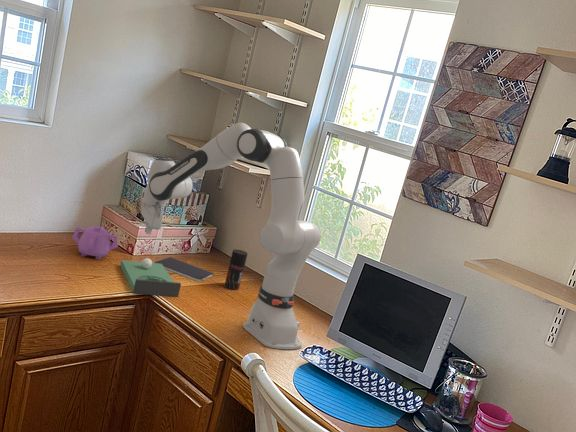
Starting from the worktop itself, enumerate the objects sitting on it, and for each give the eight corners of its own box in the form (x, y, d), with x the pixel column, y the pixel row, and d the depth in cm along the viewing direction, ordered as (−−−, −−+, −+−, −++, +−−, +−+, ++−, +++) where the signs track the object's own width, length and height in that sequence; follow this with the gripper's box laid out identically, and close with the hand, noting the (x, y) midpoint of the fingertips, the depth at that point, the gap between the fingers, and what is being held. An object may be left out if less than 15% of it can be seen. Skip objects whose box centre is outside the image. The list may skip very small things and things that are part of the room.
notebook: (213, 276, 247) (169, 260, 253) (213, 273, 246) (170, 257, 253) (198, 283, 235) (152, 265, 241) (199, 279, 234) (153, 262, 241)
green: (178, 296, 214) (181, 283, 213) (133, 293, 206) (136, 280, 205) (160, 269, 237) (163, 257, 236) (120, 265, 230) (122, 253, 229)
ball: (152, 270, 226) (154, 260, 225) (141, 269, 224) (143, 259, 223) (149, 266, 230) (151, 257, 229) (139, 265, 228) (141, 256, 227)
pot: (75, 244, 242) (80, 216, 239) (118, 253, 244) (124, 226, 242) (64, 256, 224) (69, 227, 222) (110, 266, 227) (116, 237, 225)
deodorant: (236, 291, 235) (245, 255, 232) (222, 287, 236) (231, 251, 233) (240, 287, 240) (249, 252, 238) (226, 283, 241) (235, 248, 238)
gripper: (169, 207, 221) (161, 242, 223) (157, 193, 238) (150, 226, 241) (153, 205, 218) (145, 240, 220) (141, 191, 235) (134, 224, 238)
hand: (147, 233), depth 231 cm, fingers closed
